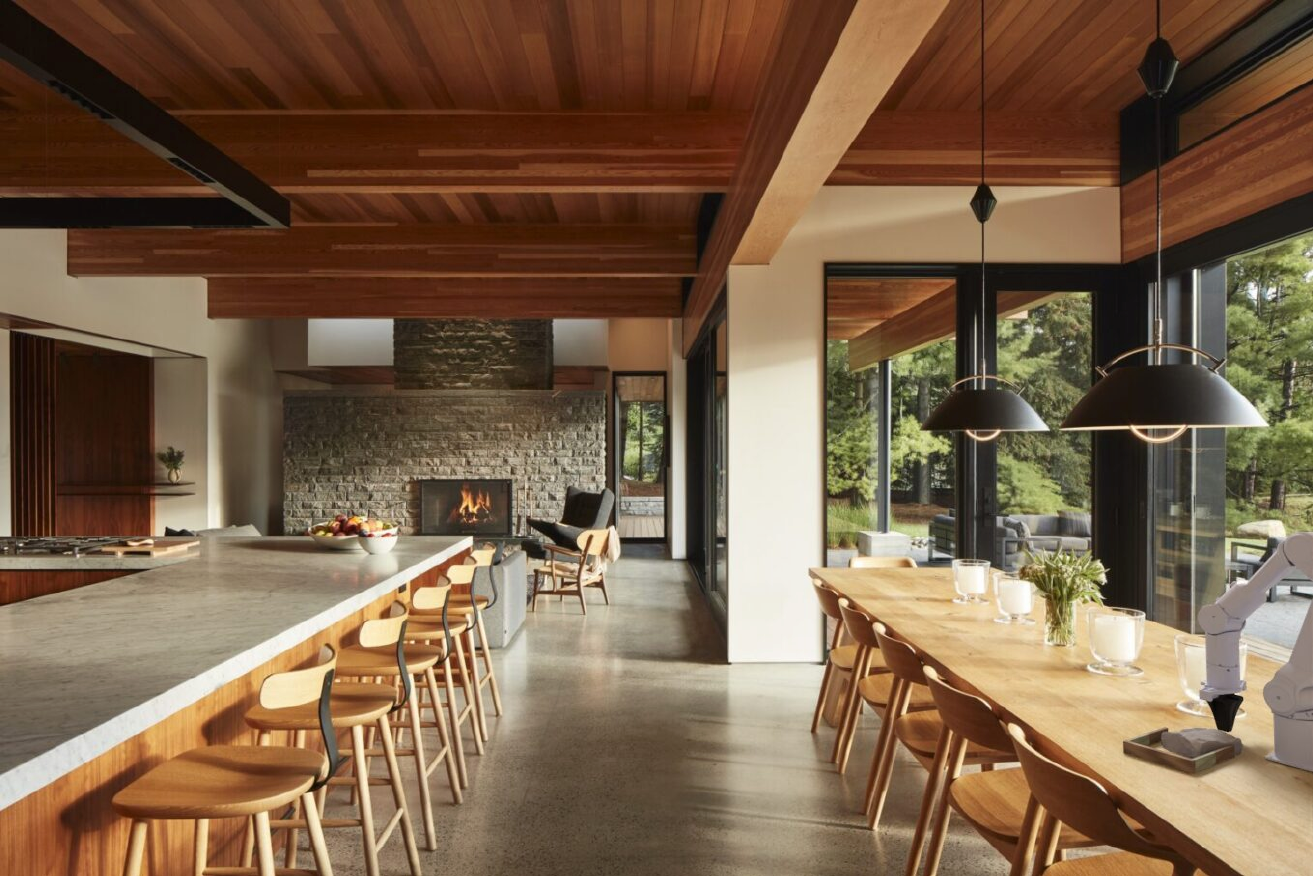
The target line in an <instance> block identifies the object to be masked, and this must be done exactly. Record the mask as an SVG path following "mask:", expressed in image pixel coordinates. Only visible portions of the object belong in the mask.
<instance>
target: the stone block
mask: <svg viewBox="0 0 1313 876" xmlns="http://www.w3.org/2000/svg"><path fill="white" fill-rule="evenodd" d="M1161 736H1162V737H1161V745H1162V748H1164V749H1166V750H1168V751H1170V752H1173V753H1176V754H1177V755H1181V756H1183V757H1186V758H1190V759H1194V758H1196V757H1199V756H1202V755H1204V754H1207V753H1210V752H1213V751H1215V750H1218V749H1221V748H1223V747H1226V746H1229V745H1234V748H1235V756H1238V755H1240V754H1242V752H1243V750H1244V749H1243V748H1244V745H1243V743H1242V739H1241V738H1240V737H1235V736H1234V735H1232V734H1229V733H1228V732H1224V731H1221V730H1218V729H1217V728H1204V727H1193V728H1186V729H1181V730H1179V731H1168V732H1163V733H1162V735H1161Z"/></svg>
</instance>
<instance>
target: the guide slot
mask: <svg viewBox="0 0 1313 876" xmlns="http://www.w3.org/2000/svg"><path fill="white" fill-rule="evenodd" d="M1163 732H1169V727H1165V726H1164V727H1161V728H1158V729H1156V730H1152V731H1150V732H1147V733H1143V734H1140V735H1138V736H1134V737H1131V738H1127V739H1125V740H1123V741H1122V752H1123V753H1124V754H1127V755H1130V756H1135V757H1137V758H1140V759H1144V760H1147V761H1151V762H1154V763H1158V764H1161V765H1162V766H1163V765H1164V766H1168V767H1171V768H1173V769H1177V770H1181V771H1184V772H1187V773H1191V774H1195V773H1198V772H1201V771H1202V770H1205V769H1208V768H1210V767H1213V766H1215V765H1218V764H1221V763H1223V762H1227V761H1228V760H1231V759H1233V758H1235V757H1236V755H1235V748H1234V745H1229V746H1226V747H1223V748H1221V749H1218V750H1215V751H1213V752H1210V753H1207V754H1204V755H1202V756H1199V757H1196V758H1194V759H1193V758H1190V757H1187V756H1184V755H1180V754H1177V753H1176V754H1174V753H1171V752H1168V751H1164V750H1162V749H1159V748H1155V747H1152V745H1154V744H1157V743H1160V742H1161V743H1162V741H1161V737H1162V736H1161V735H1162V733H1163ZM1150 746H1151V747H1150Z"/></svg>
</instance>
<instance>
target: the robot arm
mask: <svg viewBox="0 0 1313 876" xmlns="http://www.w3.org/2000/svg"><path fill="white" fill-rule="evenodd" d="M1296 569H1298V570H1299V571H1301V573H1303V574H1304V575H1305V576H1306V577H1307V578H1308V579H1309V580H1310V581H1311V582H1313V531H1307V532H1306V531H1295V532H1293V533H1292V532H1291V534H1289V535H1288V536H1287V537H1286V538H1285V540H1282V541H1280V543H1278V545H1277V549H1276V550H1275V552H1273V554H1272V555H1271V556H1270V557H1269V558H1268V559H1267V560H1266V561H1265V562H1264V563H1263V565H1261V566H1260V568H1258V570H1256V572H1254V574H1253V575H1252V576H1251V577H1250V578H1249V579H1239V580H1235V581H1232V582H1231V583H1230V584H1229V587H1230V588H1229V589H1228V590H1226V592H1225V593H1224V594H1222V595H1221V596H1218V597H1216V599H1214V600H1215V602H1214V603H1213V604H1206V605H1203V606H1201V609H1200V610H1199V611H1198V613H1197V621H1198V624H1199V626H1200V627H1201V629H1202V630H1203V631H1204V639H1205V673H1206V674H1205V676H1206V679H1205V680H1202V681H1200V685H1201V686H1202V688H1200V689H1199V690H1198V692H1199V700H1201V701H1205V702H1206V703H1207V705H1208V707H1209V708H1210V710H1211V714H1212V716H1213V719H1214V723H1215V725H1216V729H1217V730H1220V731H1223V732H1226V733H1230V732H1232V730H1233V726H1234V724H1235V720H1236V716H1237V713H1238V711H1239V708H1240V706H1241V705H1242V704H1243V702H1244V696H1242V695H1240V693H1242V691H1243V692H1244V691H1247V688H1248V687H1247V681H1246V680H1243V679H1241V667H1240V664H1241V663H1240V640H1241V639H1242V637H1241V636H1242V635H1241V633H1242V631H1243V630H1244V629H1245V628H1246V625H1247V619H1248V618H1250V616H1252V615H1253V613H1255V612H1256V611H1257V610H1258V609H1259V608H1260V607H1262V606H1263V605H1264V604H1265V603H1266V602H1267V600H1268V599H1267V597H1268V596H1267V592H1268V591H1269V590H1270V589H1272V588H1273V587H1275V586H1276V585H1277V584H1278V583H1279V582H1281V581H1282V580H1283V579H1284V578H1286V577H1287V576H1288V575H1290V574H1291V573H1292V572H1293V571H1295V570H1296ZM1262 695H1263V700H1264V703H1265V704H1266V705H1267V706H1268V708H1269V709H1270V711H1271V712H1270V713H1272V716H1273V743H1274V744H1273V745H1274V749H1273V750H1274V752H1272V753H1270V754H1267V755H1265V756H1264V759H1265V760H1267V761H1272V762H1275V763H1278V764H1279V763H1280V764H1282V765H1286V766H1290V767H1293V768H1298V769H1301V770H1304V771H1308V772H1311V773H1313V598H1312V599H1311V602H1310V604H1309V607H1308V609H1307V612H1306V615H1305V617H1304V620H1303V623H1302V625H1301V628H1300V630H1299V633H1298V635H1297V638H1296V641H1295V644H1294V647H1293V649H1292V651H1291V654H1290V656H1289V659H1288V661H1287V662H1286V663H1285V664H1284V665H1282V666H1281V667H1280V668H1279V669H1277V671H1275V673H1274V676H1273V678H1272V679H1270V680H1269V681H1268V682H1266V683H1265V685H1264V686H1263V689H1262Z"/></svg>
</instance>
